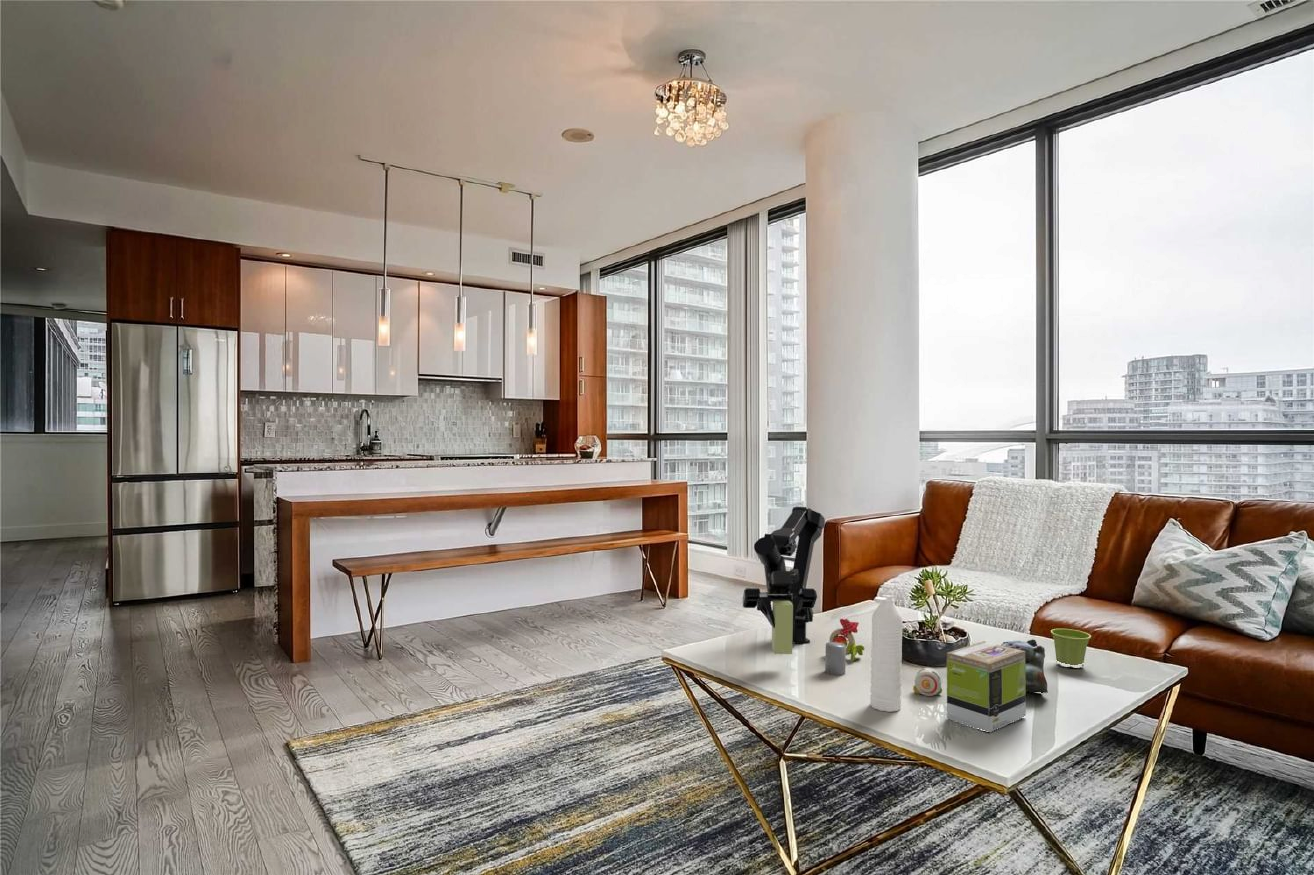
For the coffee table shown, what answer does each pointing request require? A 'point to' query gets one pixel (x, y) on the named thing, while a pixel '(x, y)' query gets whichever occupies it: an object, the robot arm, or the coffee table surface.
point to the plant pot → (1070, 645)
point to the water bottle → (886, 655)
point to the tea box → (986, 685)
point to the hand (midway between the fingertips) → (783, 627)
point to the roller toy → (928, 682)
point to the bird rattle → (847, 632)
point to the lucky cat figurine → (1032, 664)
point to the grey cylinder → (835, 658)
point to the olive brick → (782, 627)
